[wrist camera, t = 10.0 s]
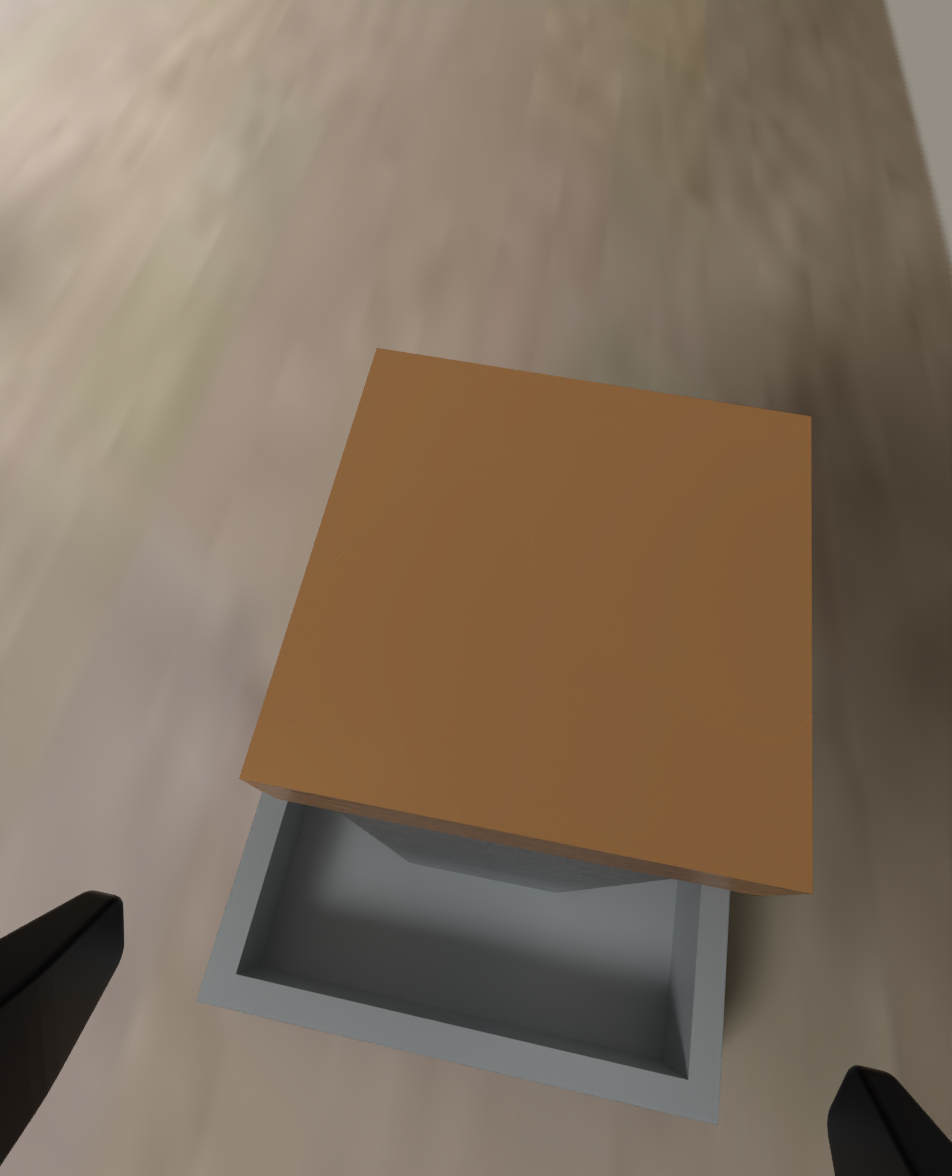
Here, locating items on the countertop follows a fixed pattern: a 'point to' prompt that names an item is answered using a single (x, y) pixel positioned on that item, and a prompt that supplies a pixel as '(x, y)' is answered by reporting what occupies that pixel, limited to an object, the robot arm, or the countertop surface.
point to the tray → (477, 964)
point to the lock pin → (557, 634)
